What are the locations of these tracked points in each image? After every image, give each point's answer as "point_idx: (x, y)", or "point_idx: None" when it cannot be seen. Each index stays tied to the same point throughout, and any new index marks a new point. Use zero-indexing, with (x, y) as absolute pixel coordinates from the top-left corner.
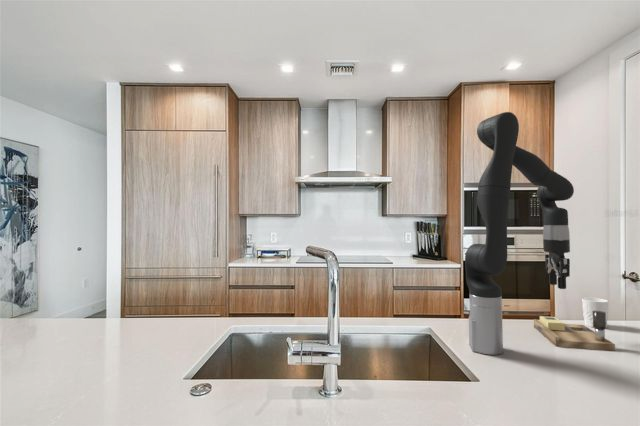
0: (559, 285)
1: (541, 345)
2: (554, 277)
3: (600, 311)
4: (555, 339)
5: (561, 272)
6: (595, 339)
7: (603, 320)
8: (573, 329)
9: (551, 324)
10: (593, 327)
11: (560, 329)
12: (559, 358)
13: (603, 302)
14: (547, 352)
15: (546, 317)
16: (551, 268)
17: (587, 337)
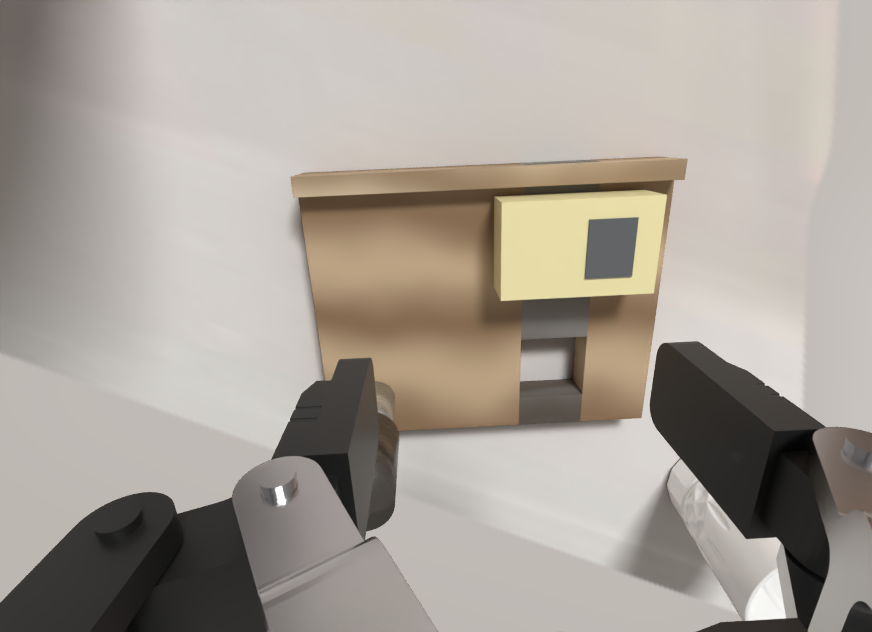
0: (333, 386)
1: (292, 92)
2: (716, 461)
3: (376, 515)
4: (297, 175)
5: (20, 592)
6: (376, 382)
7: None
8: (580, 350)
9: (499, 221)
10: (680, 459)
11: (495, 266)
12: (102, 126)
13: (744, 617)
14: (175, 89)
15: (628, 230)
16: (835, 570)
17: (406, 359)
